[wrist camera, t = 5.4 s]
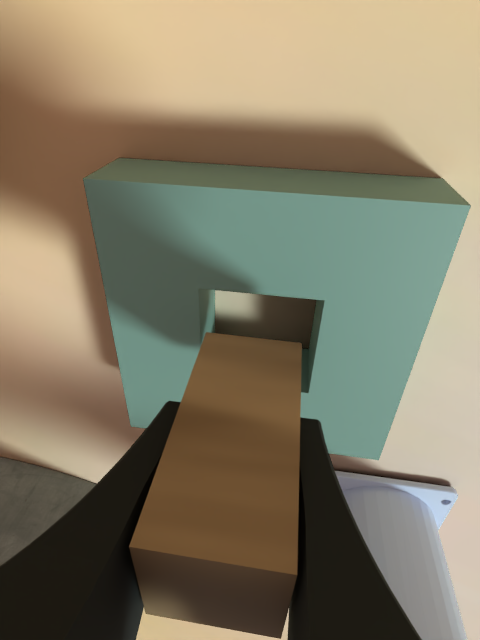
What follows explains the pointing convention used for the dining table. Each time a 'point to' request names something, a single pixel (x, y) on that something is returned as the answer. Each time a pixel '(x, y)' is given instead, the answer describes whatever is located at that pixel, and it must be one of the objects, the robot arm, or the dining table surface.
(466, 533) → the dining table surface
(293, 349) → the peg
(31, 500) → the hip flask
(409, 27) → the dining table surface
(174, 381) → the socket block
